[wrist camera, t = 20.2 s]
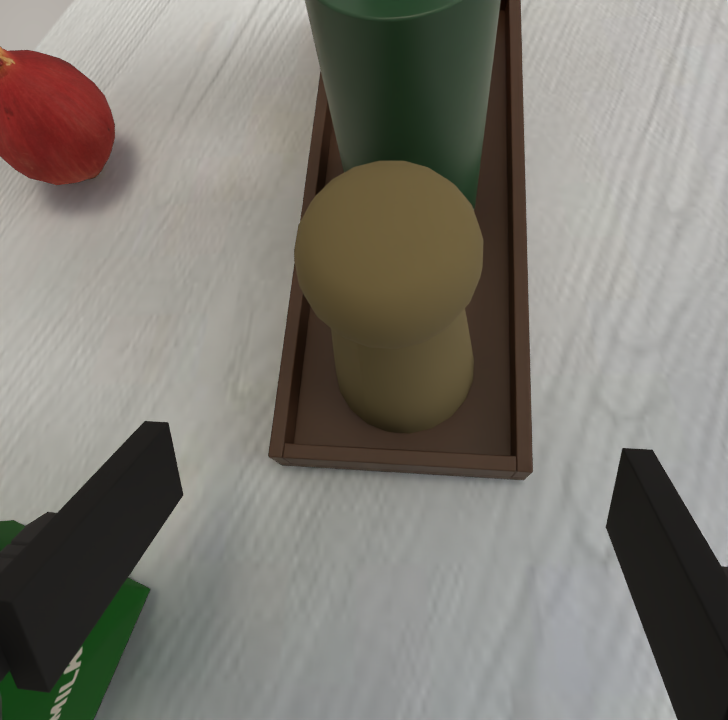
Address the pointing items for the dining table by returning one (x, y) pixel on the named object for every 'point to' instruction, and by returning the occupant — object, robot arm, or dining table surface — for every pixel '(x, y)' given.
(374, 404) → the cork
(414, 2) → the green bottle
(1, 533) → the milk carton
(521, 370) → the tray
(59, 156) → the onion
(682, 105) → the dining table surface
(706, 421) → the dining table surface
